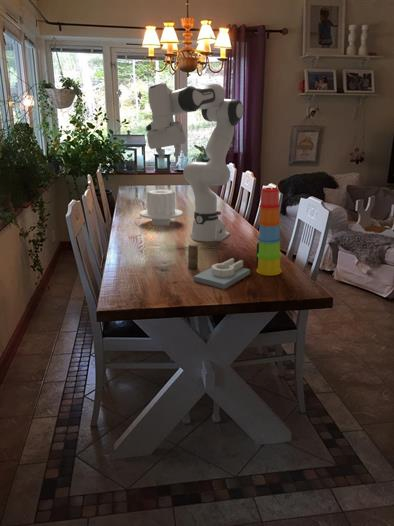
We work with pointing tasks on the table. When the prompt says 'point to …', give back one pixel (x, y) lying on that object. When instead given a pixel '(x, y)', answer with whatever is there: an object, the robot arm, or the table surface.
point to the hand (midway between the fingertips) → (169, 157)
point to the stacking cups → (269, 233)
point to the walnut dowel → (192, 256)
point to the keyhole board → (221, 280)
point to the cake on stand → (161, 207)
